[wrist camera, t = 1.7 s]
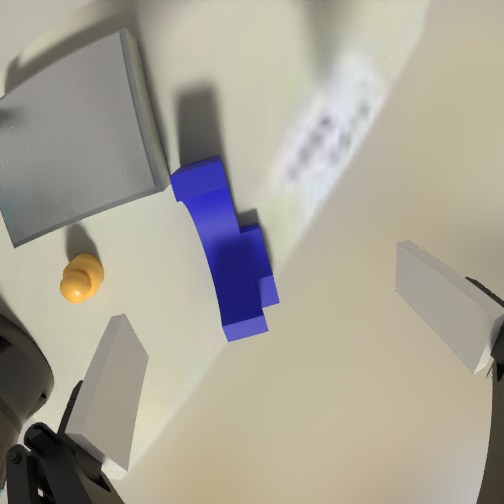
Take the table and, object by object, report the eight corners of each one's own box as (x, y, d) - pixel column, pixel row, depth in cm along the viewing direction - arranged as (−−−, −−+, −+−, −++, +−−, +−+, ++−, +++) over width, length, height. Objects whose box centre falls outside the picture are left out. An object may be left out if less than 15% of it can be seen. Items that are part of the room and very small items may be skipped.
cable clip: (272, 284, 25) (288, 325, 20) (223, 298, 25) (228, 341, 20) (237, 150, 20) (247, 154, 15) (180, 166, 20) (168, 177, 15)
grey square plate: (35, 233, 20) (-23, 277, 12) (4, 114, 15) (-62, 118, 7) (171, 182, 20) (145, 211, 12) (137, 42, 16) (98, -6, 7)
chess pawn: (81, 290, 23) (66, 311, 19) (66, 258, 21) (48, 276, 18) (109, 282, 23) (97, 304, 20) (95, 248, 21) (78, 267, 18)
